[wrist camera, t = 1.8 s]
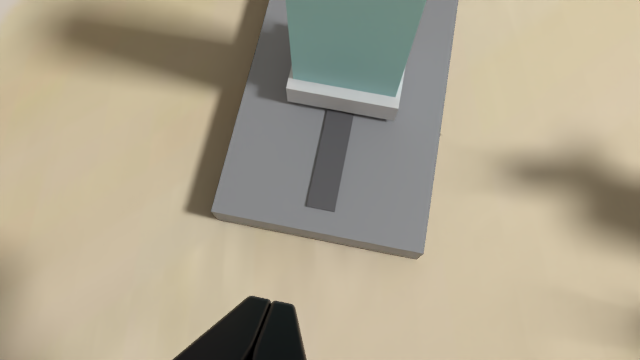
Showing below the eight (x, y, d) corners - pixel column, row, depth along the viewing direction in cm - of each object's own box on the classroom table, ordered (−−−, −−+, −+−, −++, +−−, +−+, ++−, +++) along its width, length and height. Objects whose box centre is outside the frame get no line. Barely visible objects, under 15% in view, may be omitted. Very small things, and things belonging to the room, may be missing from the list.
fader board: (416, 259, 22) (423, 253, 20) (217, 219, 22) (210, 210, 21) (457, -34, 27) (466, -57, 25) (293, -61, 27) (292, -85, 26)
